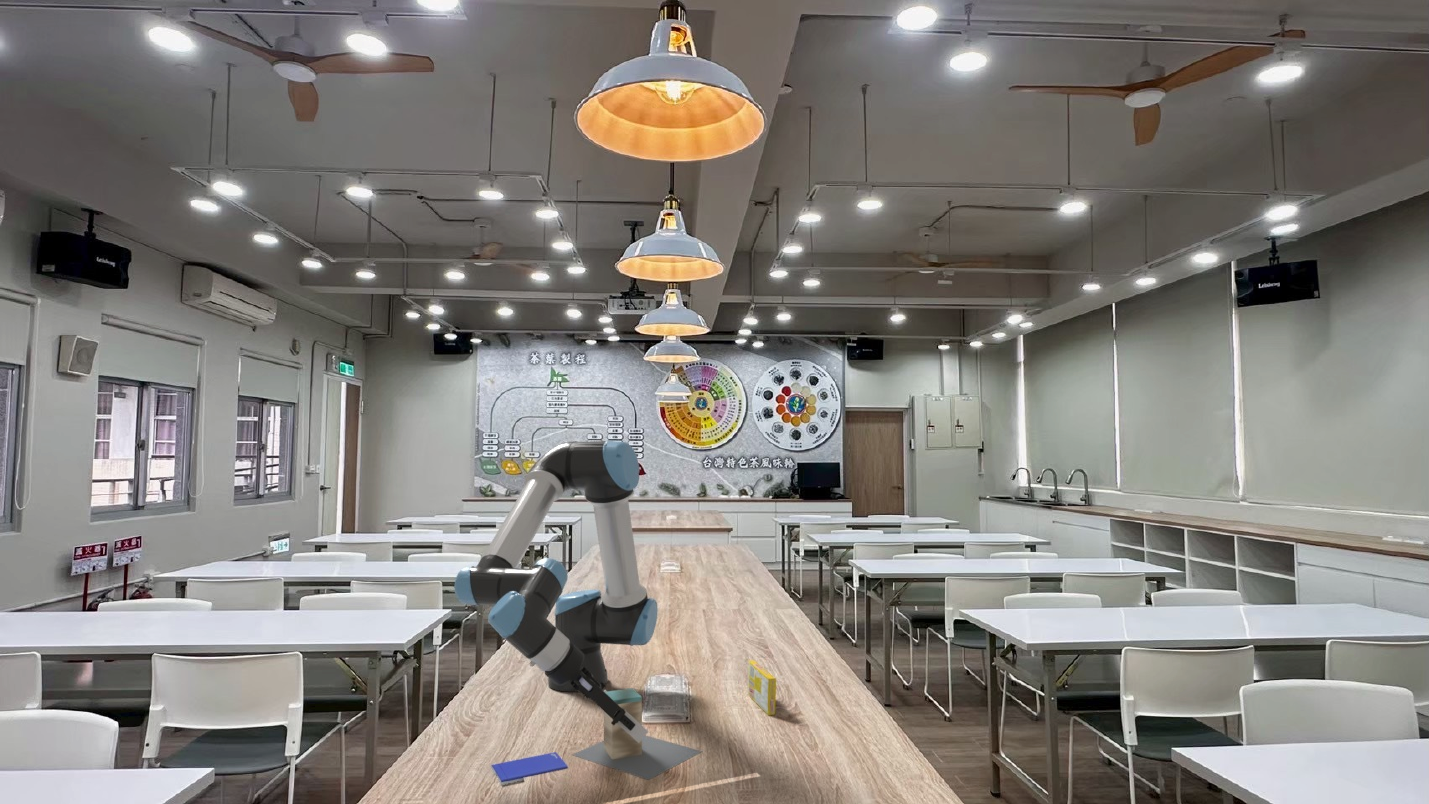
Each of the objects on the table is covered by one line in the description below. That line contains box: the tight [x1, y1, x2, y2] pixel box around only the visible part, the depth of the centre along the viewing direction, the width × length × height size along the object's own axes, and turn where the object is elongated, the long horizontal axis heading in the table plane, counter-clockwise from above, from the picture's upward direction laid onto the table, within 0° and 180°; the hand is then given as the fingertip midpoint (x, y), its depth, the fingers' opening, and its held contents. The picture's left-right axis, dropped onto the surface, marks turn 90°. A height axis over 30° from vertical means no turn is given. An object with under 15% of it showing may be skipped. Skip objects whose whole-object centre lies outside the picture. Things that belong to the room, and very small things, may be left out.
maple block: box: [603, 687, 643, 759], centre depth 152 cm, size 6×6×11 cm
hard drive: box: [490, 751, 569, 786], centre depth 145 cm, size 2×8×12 cm
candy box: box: [747, 660, 777, 716], centre depth 182 cm, size 16×2×8 cm, turn 15°
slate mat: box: [571, 734, 703, 781], centre depth 151 cm, size 20×16×1 cm
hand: (632, 725), depth 153 cm, fingers open, 13 cm apart
